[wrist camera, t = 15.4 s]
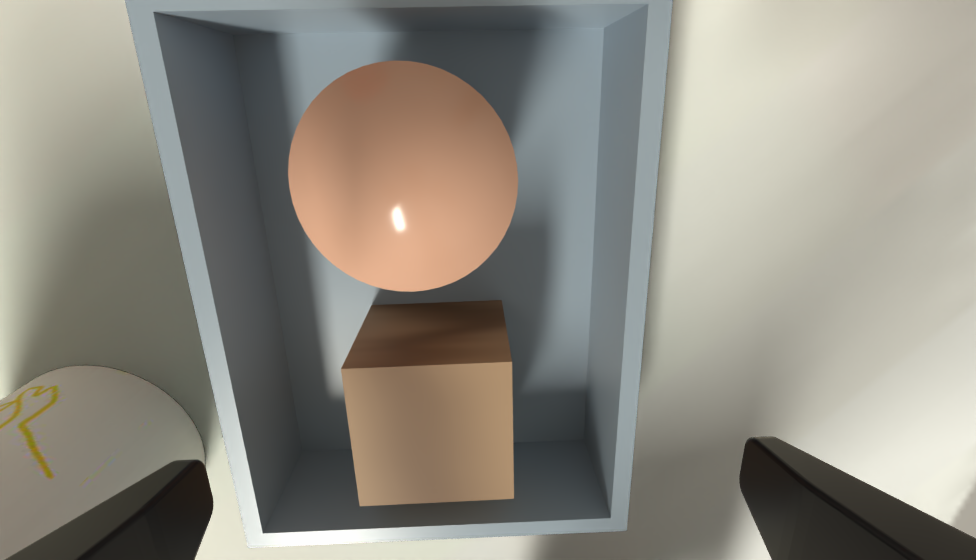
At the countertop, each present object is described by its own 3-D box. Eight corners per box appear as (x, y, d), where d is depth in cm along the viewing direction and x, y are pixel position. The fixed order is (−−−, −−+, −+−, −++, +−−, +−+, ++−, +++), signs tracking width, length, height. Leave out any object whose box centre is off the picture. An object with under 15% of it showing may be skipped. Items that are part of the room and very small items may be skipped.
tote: (593, 442, 23) (626, 530, 18) (294, 454, 22) (248, 547, 18) (618, 10, 17) (674, -25, 12) (218, 17, 17) (121, -17, 12)
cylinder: (498, 78, 17) (516, 56, 10) (501, 225, 19) (519, 287, 12) (347, 83, 17) (270, 64, 10) (364, 230, 19) (305, 296, 12)
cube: (501, 299, 20) (512, 361, 15) (503, 411, 21) (513, 498, 17) (371, 305, 20) (340, 368, 15) (383, 416, 21) (359, 506, 17)
